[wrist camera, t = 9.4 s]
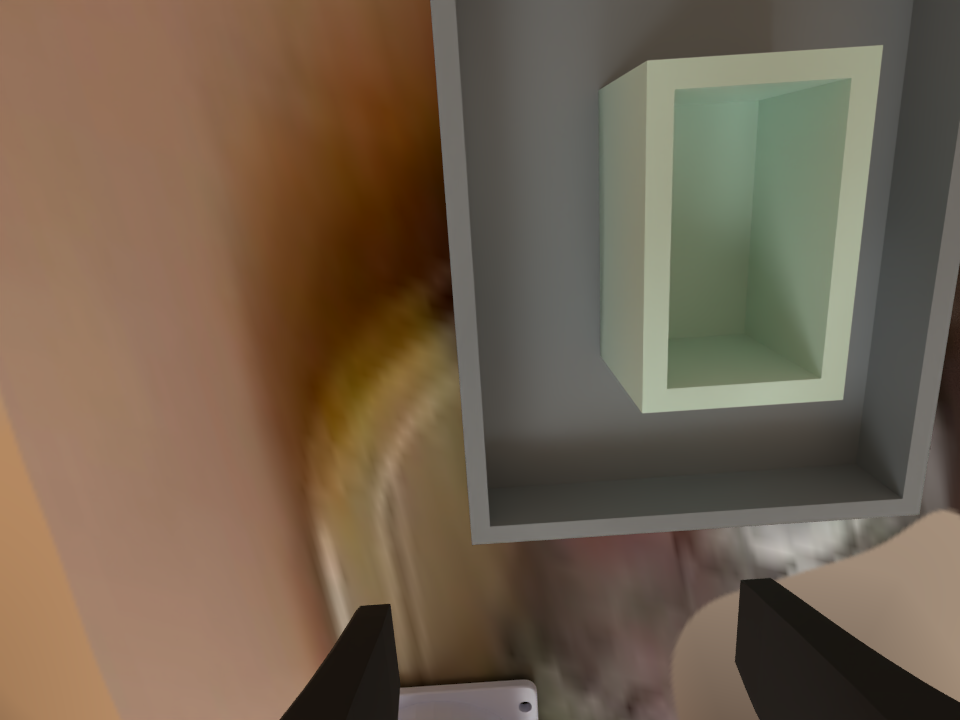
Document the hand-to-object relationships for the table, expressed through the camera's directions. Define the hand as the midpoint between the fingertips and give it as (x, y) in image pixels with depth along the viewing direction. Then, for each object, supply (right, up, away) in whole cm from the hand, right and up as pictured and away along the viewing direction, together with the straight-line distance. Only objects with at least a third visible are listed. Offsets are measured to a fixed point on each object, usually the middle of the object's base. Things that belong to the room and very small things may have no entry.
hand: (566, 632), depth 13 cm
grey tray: (+4, +10, +7) cm, 13 cm away
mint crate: (+4, +10, +6) cm, 12 cm away
